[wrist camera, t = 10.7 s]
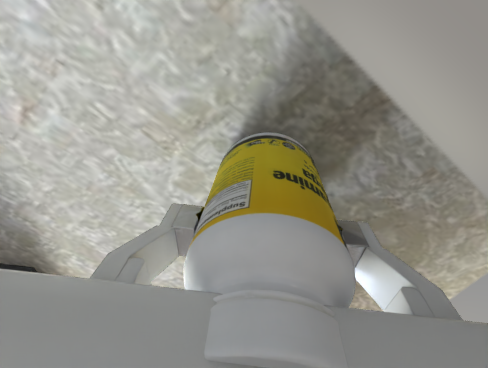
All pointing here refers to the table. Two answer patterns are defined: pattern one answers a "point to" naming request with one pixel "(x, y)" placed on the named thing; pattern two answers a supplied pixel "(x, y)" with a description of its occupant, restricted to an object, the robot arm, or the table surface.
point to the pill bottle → (271, 259)
